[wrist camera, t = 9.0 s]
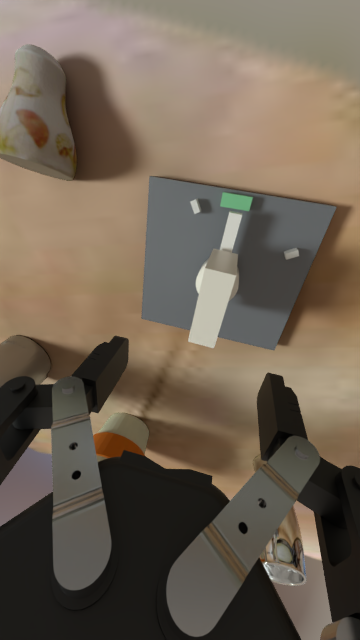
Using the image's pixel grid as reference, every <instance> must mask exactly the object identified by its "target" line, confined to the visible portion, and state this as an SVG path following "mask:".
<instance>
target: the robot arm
mask: <svg viewBox="0 0 360 640" xmlns="http://www.w3.org/2000/svg"><path fill="white" fill-rule="evenodd" d="M128 347H129V340H128V339H127V338H123V337H119V336H114V337H113V339H112V340H111V341H110V342H109V343H107V342H104V343H102V344H100V345H98V346H97V347H96V348H95V349H94V350H93V351H92V353H91V354H90V355H89V356H88V358H86V360H85V361H84V362H83V363H82V364H81V365H80V367H79V368H78V369H77V370H76V371H75V372H74V373H73V375H72V376H71V377H65V378H62V379H60V380H58V381H57V382H56V383H55V384H48V385H40V384H41V383H42V382H43V381H44V380H45V379H46V378H47V376H46V374H47V373H48V372H49V370H50V368H51V363H50V359H49V357H48V355H47V354H46V352H45V351H44V350H43V349H42V348H41V347H40V346H39V345H38V344H37V343H35V342H34V341H32V340H30V339H29V338H26V337H23V336H12V337H10V338H8V339H7V340H5V341H4V342H2V343H1V344H0V485H1V483H2V482H3V481H4V479H5V478H6V476H7V475H8V474H9V472H10V471H11V470H12V468H13V467H14V465H15V464H16V462H17V461H18V460H19V458H20V457H21V456H22V454H23V453H24V452H25V450H26V449H27V447H28V446H29V445H30V443H31V442H32V440H33V439H34V438H35V436H36V435H37V434H38V432H39V431H40V429H51V438H52V474H53V492H52V493H50V494H48V495H47V496H45V497H44V498H43V499H41V500H39V501H38V502H36V503H35V504H34V505H32V506H30V507H29V508H28V509H26V510H24V511H23V512H21V513H20V514H19V515H17V516H15V517H14V518H12V519H11V520H9V521H8V522H7V523H5V524H3V525H2V526H0V640H301V638H300V636H299V634H298V632H297V630H296V628H295V626H294V624H293V622H292V620H291V619H290V617H289V615H288V612H287V611H286V609H285V607H284V605H283V603H282V601H281V599H280V597H279V595H278V593H277V591H276V589H275V587H274V585H273V583H272V581H271V579H270V577H269V575H268V573H267V571H266V569H265V567H264V565H263V563H262V561H261V559H260V555H261V553H262V552H263V550H264V549H265V547H266V546H267V544H268V543H269V541H270V540H271V538H272V537H273V535H274V534H275V532H276V531H277V529H278V528H279V526H280V525H281V523H282V521H283V520H284V518H285V517H286V515H287V514H288V512H289V511H290V509H291V508H292V506H293V505H294V503H295V502H296V500H297V501H299V502H300V503H302V504H303V505H305V506H306V507H308V508H309V509H311V510H312V511H314V516H315V522H316V528H317V534H318V540H319V546H320V552H321V558H322V563H323V570H324V576H325V582H326V587H327V593H328V599H329V605H330V611H331V617H332V623H331V624H328V625H327V626H326V627H324V629H323V631H322V633H321V637H320V640H360V468H357V467H355V466H346V467H344V468H343V469H340V468H338V467H337V466H335V465H333V464H331V463H329V462H328V461H326V460H324V459H323V458H321V457H320V456H319V453H318V451H317V449H316V448H315V447H314V445H313V444H312V443H310V442H309V441H308V438H307V435H306V431H305V427H304V423H303V419H302V415H301V414H300V412H301V411H300V407H299V404H298V400H297V396H296V395H295V393H294V392H293V390H292V389H291V388H289V387H285V385H284V380H283V377H282V376H280V375H276V374H272V373H267V374H266V376H265V379H264V381H263V383H262V385H261V388H260V390H259V393H258V397H257V410H258V424H259V437H260V451H261V460H263V461H267V463H266V464H263V465H262V466H261V467H260V468H259V469H258V470H257V471H256V473H255V474H254V475H253V476H252V477H251V478H250V479H249V481H248V482H247V483H246V484H245V485H244V486H243V487H242V488H241V490H240V491H239V492H238V493H237V494H236V495H235V496H234V497H233V499H232V500H231V501H230V500H229V499H228V498H227V497H226V495H225V494H224V493H223V492H222V491H221V490H219V489H218V488H217V487H216V486H214V485H213V484H212V476H210V475H207V474H204V473H200V472H197V471H193V470H190V469H165V468H163V467H161V466H160V465H158V464H157V463H155V462H153V461H152V460H150V459H149V458H147V457H145V456H143V455H140V454H136V453H133V452H129V451H126V450H123V453H122V455H121V457H111V458H107V459H104V460H101V461H99V462H97V456H96V450H95V444H94V439H93V433H92V427H91V421H90V416H89V415H90V413H91V411H92V412H96V413H99V411H100V410H101V408H102V406H103V405H104V403H105V401H106V400H107V398H108V396H109V395H110V393H111V392H112V390H113V388H114V387H115V385H116V383H117V382H118V380H119V378H120V377H121V375H122V373H123V372H124V370H125V368H126V366H127V363H128Z"/></svg>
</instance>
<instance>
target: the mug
mask: <svg viewBox="0 0 360 640" xmlns="http://www.w3.org/2000/svg"><path fill="white" fill-rule="evenodd" d="M65 88H66V76H65V73H64V72H63V70H62V68H61V66H60V64H59V63H58V62H57V60H56V59H55V58H54V57H53V56H52V55H50V54H49V53H48V52H47V51H45V50H43V49H41V48H40V47H37V46H34V45H24V46H22V47H21V48H20V49H18V50H17V51H16V53H15V72H14V78H13V83H12V87H11V89H10V92H9V94H8V96H7V97H6V99H5V101H4V103H3V105H2V107H1V109H0V158H1V159H3V160H6V161H8V162H10V163H12V164H15V165H17V166H20V167H22V168H25V169H28V170H31V171H34V172H37V173H40V174H43V175H47V176H50V177H54V178H58V179H62V180H67V181H72V180H73V179H74V176H75V173H76V168H77V154H76V148H75V144H74V140H73V136H72V132H71V128H70V125H69V121H68V117H67V113H66V106H65Z"/></svg>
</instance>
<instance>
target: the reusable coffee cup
mask: <svg viewBox="0 0 360 640" xmlns="http://www.w3.org/2000/svg"><path fill="white" fill-rule="evenodd" d="M148 437H149V430H148V428H147V426H146V425H145V423H143V422H142V421H141V420H140V419H138V418H137V417H135V416H133V415H130V414H127V413H115V414H113V415H111V416H110V417H109V419H108V420H107V421H106V423H105V424H104V425H103V427H102V428H101V429H100V431H99V432H98V433H97V434H95V435H93V439H94V444H95V450H96V456H97V462H99V461H101V460H104V459H107V458H111V457H121V455H122V453H123V450H126V451H129V452H133V453H136V454H140V455H143V456H145V455H144V454H145V450H146V446H147V441H148Z"/></svg>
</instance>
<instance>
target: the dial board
mask: <svg viewBox="0 0 360 640" xmlns="http://www.w3.org/2000/svg"><path fill="white" fill-rule="evenodd" d="M335 210H336V206H333V205H327V204H321V203H315V202H309V201H303V200H296V199H290V198H284V197H278V196H272V195H266V194H260V193H254V192H247V191H241V190H235V189H229V188H223V187H217V186H211V185H204V184H198V183H192V182H186V181H180V180H174V179H168V178H162V177H155V176H150V178H149V195H148V213H147V231H146V249H145V266H144V284H143V302H142V319H145V320H149V321H153V322H157V323H162V324H166V325H170V326H174V327H178V328H182V329H187V330H191V326H192V322H193V317H194V313H195V309H196V304H197V300H198V296H199V294H198V292H197V289H196V278H197V275H198V273H199V271H200V269H201V267H202V265H203V264H204V262H205V261H206V260H208V259H209V257H210V255H211V253H212V251H213V249H218V250H220V247H221V243H222V239H223V235H224V231H225V227H226V223H227V219H228V215H229V212H230V211H233V212H238V213H242V218H241V222H240V225H239V229H238V232H237V236H236V239H235V243H234V246H233V250H232V253H235V254H238V262H237V267H238V269H239V286H238V291H237V293H236V295H235V296H234V297H233V298H232V299H231V300H229V301H228V304H227V308H226V311H225V314H224V317H223V321H222V324H221V327H220V330H219V333H218V337H220V338H224V339H228V340H232V341H237V342H241V343H245V344H249V345H253V346H257V347H262V348H266V349H270V350H275V347H276V345H277V343H278V341H279V338H280V336H281V334H282V331H283V329H284V327H285V324H286V322H287V320H288V318H289V315H290V313H291V311H292V308H293V306H294V304H295V301H296V299H297V297H298V295H299V292H300V290H301V288H302V285H303V283H304V281H305V279H306V276H307V274H308V272H309V269H310V267H311V265H312V262H313V260H314V258H315V256H316V253H317V251H318V249H319V246H320V244H321V242H322V239H323V237H324V235H325V233H326V230H327V228H328V226H329V223H330V221H331V219H332V217H333V214H334V212H335Z"/></svg>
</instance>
